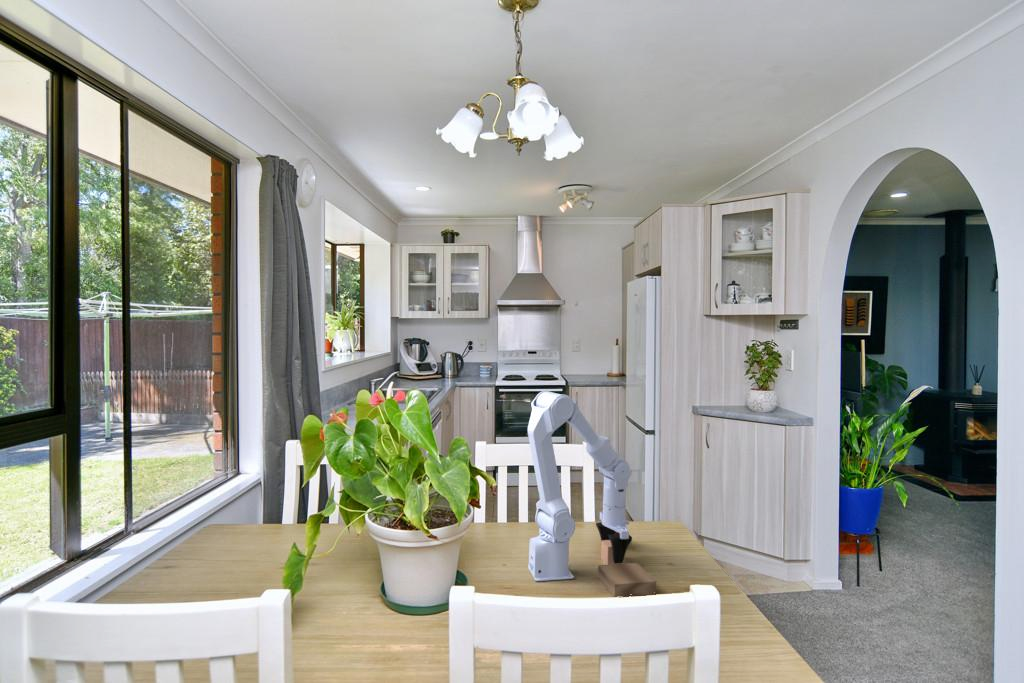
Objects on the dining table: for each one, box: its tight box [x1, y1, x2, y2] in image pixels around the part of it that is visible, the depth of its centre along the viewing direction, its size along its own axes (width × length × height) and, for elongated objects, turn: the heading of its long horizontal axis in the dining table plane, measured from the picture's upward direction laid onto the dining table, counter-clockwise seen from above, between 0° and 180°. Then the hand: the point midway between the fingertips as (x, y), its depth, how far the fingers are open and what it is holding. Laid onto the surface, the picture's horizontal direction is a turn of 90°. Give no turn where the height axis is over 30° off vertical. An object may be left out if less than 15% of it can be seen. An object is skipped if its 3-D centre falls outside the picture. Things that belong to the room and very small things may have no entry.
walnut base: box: [597, 562, 657, 598], centre depth 127 cm, size 10×10×3 cm
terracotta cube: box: [600, 540, 626, 565], centre depth 140 cm, size 4×4×5 cm
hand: (612, 556), depth 140 cm, fingers open, 7 cm apart
